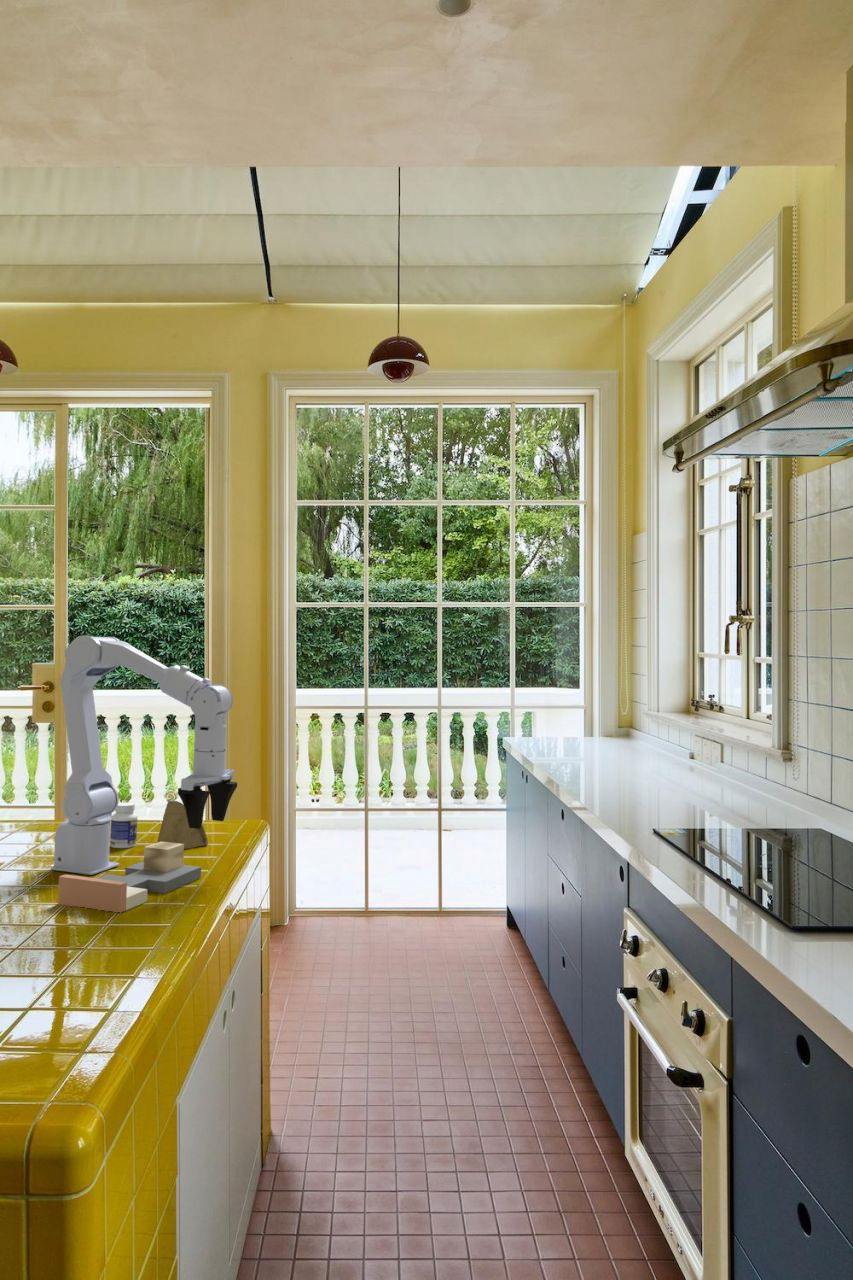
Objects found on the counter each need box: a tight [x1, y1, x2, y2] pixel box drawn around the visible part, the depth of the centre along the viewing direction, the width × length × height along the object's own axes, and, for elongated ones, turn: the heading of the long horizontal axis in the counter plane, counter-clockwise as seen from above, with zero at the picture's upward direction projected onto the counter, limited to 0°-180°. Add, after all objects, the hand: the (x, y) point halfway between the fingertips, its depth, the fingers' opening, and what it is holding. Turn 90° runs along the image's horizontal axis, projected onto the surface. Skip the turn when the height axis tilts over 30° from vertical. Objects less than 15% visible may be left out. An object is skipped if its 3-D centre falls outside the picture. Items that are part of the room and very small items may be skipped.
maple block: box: [143, 841, 185, 872], centre depth 155 cm, size 5×5×4 cm
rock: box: [157, 800, 209, 850], centre depth 178 cm, size 11×9×10 cm
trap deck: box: [57, 860, 202, 913], centre depth 146 cm, size 12×23×4 cm, turn 162°
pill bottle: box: [110, 802, 138, 849], centre depth 179 cm, size 5×5×9 cm
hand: (206, 824), depth 155 cm, fingers open, 7 cm apart
